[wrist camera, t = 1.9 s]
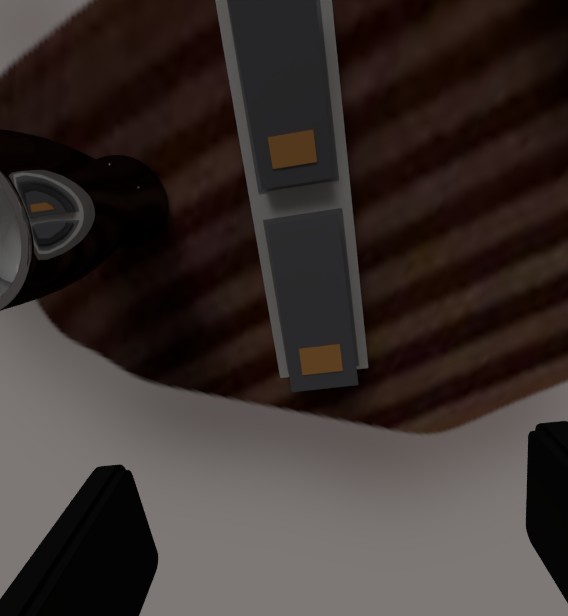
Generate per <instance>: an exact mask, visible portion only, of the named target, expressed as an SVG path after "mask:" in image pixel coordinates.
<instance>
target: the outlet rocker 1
mask: <svg viewBox="0 0 568 616" xmlns="http://www.w3.org/2000/svg"><path fill="white" fill-rule="evenodd" d="M228 5H229V11H230V16H231V22H232V27H233V33H234V38H235V44H236V49H237V55H238V61H239V66H240V72H241V77H242V83H243V88H244V94H245V99H246V105H247V110H248V116H249V121H250V127H251V132H252V138H253V143H254V149H255V154H256V160H257V165H258V171H259V176H260V182H261V187H262V190H263V189H269V188H275V187H282V186H288V185H294V184H300V183H307V182H313V181H319V180H326V179H332V178H334V176H333V166H332V156H331V146H330V136H329V126H328V116H327V106H326V96H325V86H324V76H323V66H322V56H321V46H320V36H319V26H318V16H317V6H316V0H228Z"/></svg>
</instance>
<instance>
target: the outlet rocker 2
mask: <svg viewBox="0 0 568 616" xmlns="http://www.w3.org/2000/svg"><path fill="white" fill-rule="evenodd" d="M268 231H269V238H270V245H271V252H272V259H273V266H274V273H275V280H276V287H277V294H278V301H279V308H280V315H281V322H282V329H283V336H284V343H285V349H286V356H287V363H288V370H289V377H290V384H291V391H292V392H299V391H308V390H317V389H326V388H335V387H345V386H354V385H358V377H357V369H356V361H355V352H354V344H353V336H352V328H351V319H350V311H349V303H348V295H347V287H346V278H345V270H344V262H343V254H342V245H341V237H340V229H339V221H338V214H336V215H329V216H322V217H316V218H309V219H302V220H296V221H289V222H282V223H276V224H269V225H268Z"/></svg>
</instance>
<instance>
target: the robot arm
mask: <svg viewBox="0 0 568 616" xmlns="http://www.w3.org/2000/svg"><path fill="white" fill-rule="evenodd" d="M526 530H527V534H528V537H529V539H530V542H531V543H532V545H533V547H534V549H535V550H536V552H537V553H538V555H539V557H540V558H541V560H542V562H543V563H544V565H545V567H546V568H547V570H548V572H549V573H550V575H551V576H552V578H553V580H554V581H555V583H556V584H557V586H558V588H559V590H560V591H561V593H562V595H563V596H564V598H565V599H566V601H567V602H568V422H567V421H560V422H550V423H540V424H538V425H537V426H536V429H535V431H531V432H530V433H529V436H528V464H527V500H526ZM157 565H158V553H157V549H156V546H155V543H154V540H153V537H152V534H151V531H150V528H149V525H148V521H147V518H146V515H145V512H144V509H143V506H142V503H141V500H140V497H139V493H138V490H137V487H136V484H135V481H134V478H133V475H132V473H131V471H129V470H126V469H125V468H124V466H122V465H111V466H101V467H97V468H96V469H95V470H94V471H93V472H92V474H91V475H90V476H89V478H88V479H87V480H86V482H85V483H84V485H83V486H82V487H81V489H80V490H79V491H78V493H77V494H76V495H75V497H74V498H73V500H72V501H71V502H70V504H69V505H68V507H67V508H66V509H65V511H64V512H63V513H62V515H61V516H60V518H59V519H58V521H57V522H56V523H55V524H54V526H53V527H52V529H51V530H50V531H49V533H48V534H47V535H46V537H45V538H44V540H43V541H42V542H41V544H40V545H39V546H38V548H37V549H36V551H35V552H34V554H33V555H32V556H31V557H30V559H29V560H28V562H27V563H26V564H25V566H24V567H23V569H22V570H21V571H20V573H19V574H18V575H17V577H16V578H15V580H14V581H13V582H12V584H11V585H10V586H9V588H8V589H7V591H6V592H5V593H4V595H3V596H2V598H1V599H0V616H139V614H140V612H141V609H142V607H143V604H144V601H145V598H146V596H147V593H148V591H149V588H150V586H151V583H152V580H153V578H154V575H155V572H156V570H157Z"/></svg>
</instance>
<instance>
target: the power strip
mask: <svg viewBox="0 0 568 616" xmlns="http://www.w3.org/2000/svg"><path fill="white" fill-rule="evenodd" d="M215 1H216V7H217V13H218V19H219V24H220V30H221V36H222V42H223V48H224V53H225V59H226V65H227V71H228V77H229V82H230V88H231V94H232V100H233V106H234V111H235V117H236V123H237V129H238V135H239V140H240V146H241V152H242V158H243V164H244V170H245V175H246V181H247V187H248V193H249V199H250V204H251V210H252V216H253V222H254V228H255V233H256V239H257V245H258V251H259V257H260V262H261V268H262V274H263V280H264V286H265V291H266V297H267V303H268V309H269V315H270V320H271V326H272V332H273V338H274V344H275V350H276V355H277V361H278V367H279V373H280V378H284V377H289V370H288V363H287V356H286V349H285V343H284V336H283V329H282V322H281V315H280V308H279V301H278V294H277V287H276V280H275V273H274V266H273V259H272V252H271V245H270V238H269V231H268V225H269V224H276V223H282V222H289V221H296V220H302V219H309V218H316V217H322V216H329V215H336V214H338V221H339V229H340V237H341V245H342V254H343V262H344V270H345V278H346V287H347V295H348V303H349V311H350V319H351V328H352V336H353V344H354V352H355V361H356V369H364V368H368V360H367V350H366V340H365V330H364V320H363V310H362V300H361V290H360V280H359V269H358V259H357V249H356V239H355V229H354V219H353V209H352V199H351V189H350V179H349V169H348V159H347V149H346V139H345V129H344V119H343V109H342V99H341V89H340V79H339V69H338V59H337V49H336V39H335V29H334V19H333V9H332V0H316V6H317V16H318V26H319V36H320V46H321V56H322V66H323V76H324V86H325V96H326V106H327V116H328V126H329V136H330V146H331V156H332V166H333V176H334V178H332V179H326V180H319V181H313V182H307V183H300V184H294V185H288V186H282V187H275V188H269V189H263V190H262V187H261V182H260V176H259V171H258V165H257V160H256V154H255V149H254V143H253V138H252V132H251V127H250V121H249V116H248V110H247V105H246V99H245V94H244V88H243V83H242V77H241V72H240V66H239V61H238V55H237V49H236V44H235V38H234V33H233V27H232V22H231V16H230V11H229V5H228V0H215Z"/></svg>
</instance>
